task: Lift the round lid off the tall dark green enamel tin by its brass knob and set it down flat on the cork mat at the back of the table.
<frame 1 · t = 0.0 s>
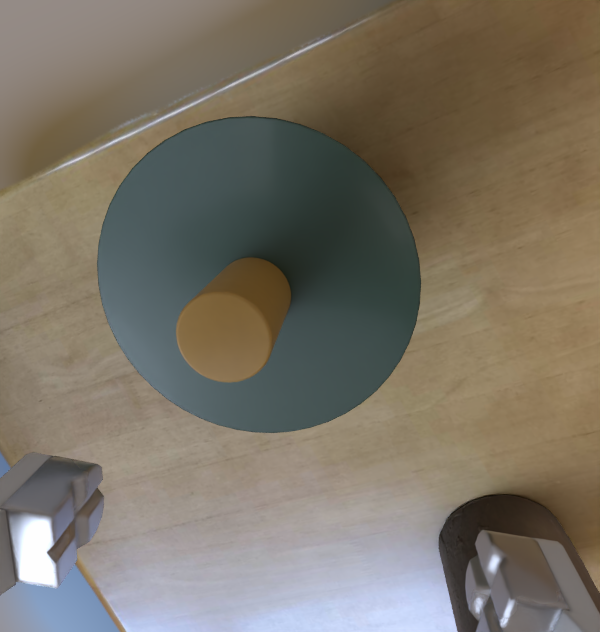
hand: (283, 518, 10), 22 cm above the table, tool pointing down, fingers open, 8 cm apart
pillar candle: (500, 540, 37), on the table
tin lid: (257, 289, 16), point 14 cm above the table, touching tin
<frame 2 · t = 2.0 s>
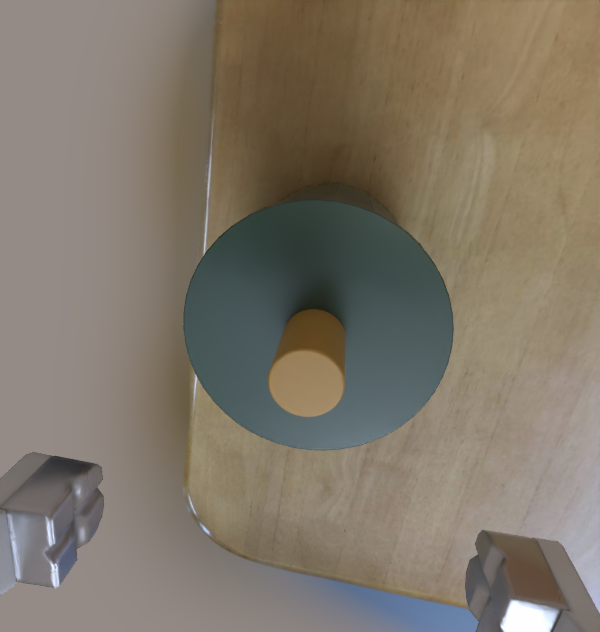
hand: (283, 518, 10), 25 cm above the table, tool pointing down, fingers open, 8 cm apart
tin lid: (315, 332, 20), point 14 cm above the table, touching tin
tin: (329, 256, 33), on the table
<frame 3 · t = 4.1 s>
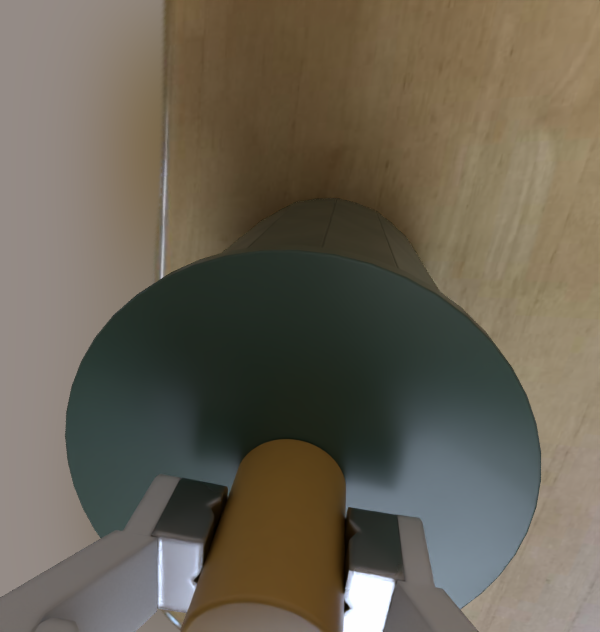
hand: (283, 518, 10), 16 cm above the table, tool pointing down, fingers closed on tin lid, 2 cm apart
tin lid: (294, 467, 11), point 15 cm above the table, touching gripper, tin
tin: (325, 294, 25), on the table
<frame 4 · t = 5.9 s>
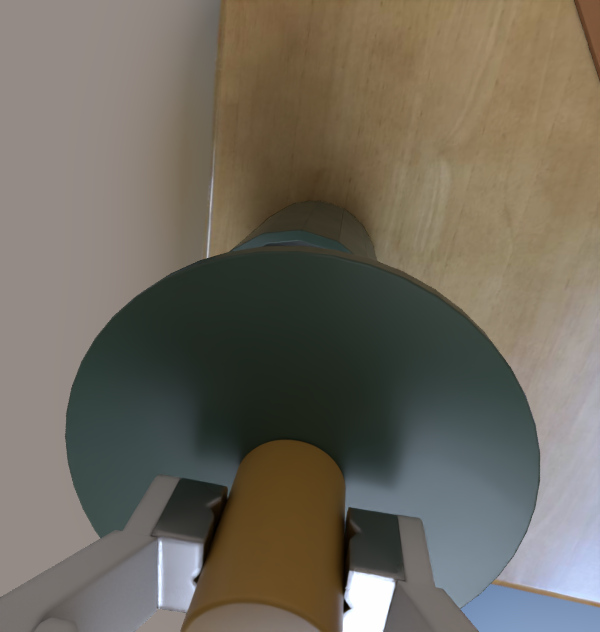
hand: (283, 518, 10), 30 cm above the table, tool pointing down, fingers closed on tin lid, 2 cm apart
tin lid: (293, 467, 11), point 29 cm above the table, touching gripper
tin: (313, 262, 39), on the table
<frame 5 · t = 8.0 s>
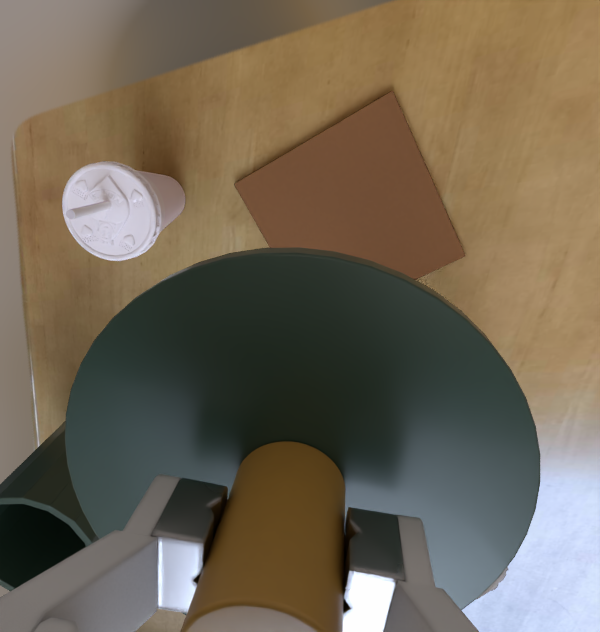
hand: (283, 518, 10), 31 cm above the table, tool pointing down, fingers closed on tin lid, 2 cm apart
smoothie: (164, 197, 39), on the table
cork mat: (350, 219, 38), on the table
tin lid: (293, 469, 11), point 29 cm above the table, touching gripper
tin: (120, 437, 48), on the table
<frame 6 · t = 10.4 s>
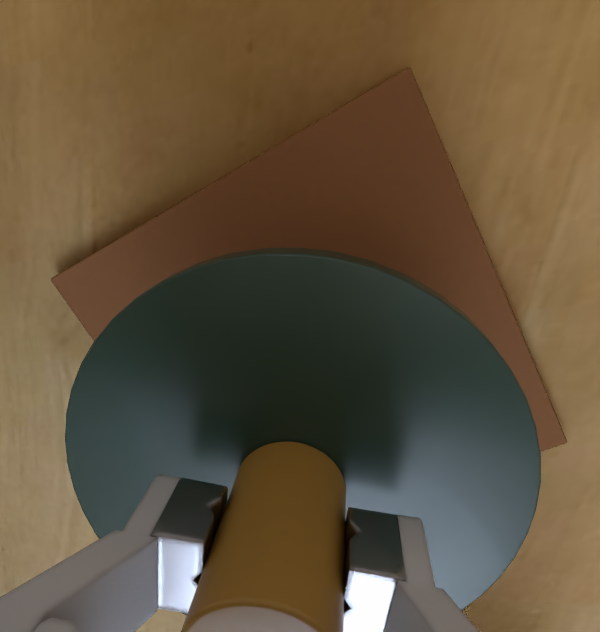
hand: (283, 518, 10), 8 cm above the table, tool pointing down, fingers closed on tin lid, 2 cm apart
cork mat: (310, 355, 17), on the table
tin lid: (293, 469, 11), point 6 cm above the table, touching gripper
when the fingers open (3 cm above the table, at t = 12.1 s): tin lid stays where it is, resting on cork mat.
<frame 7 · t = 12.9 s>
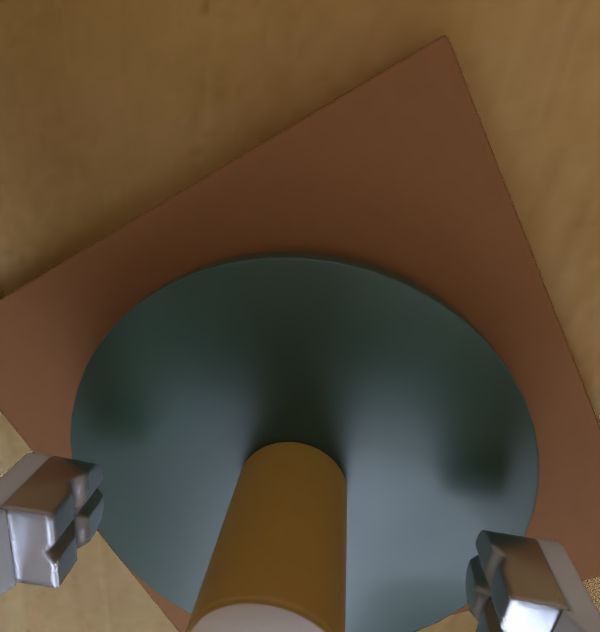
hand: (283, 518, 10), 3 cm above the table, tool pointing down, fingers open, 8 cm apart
cork mat: (298, 438, 13), on the table
tin lid: (295, 469, 12), point 1 cm above the table, touching cork mat
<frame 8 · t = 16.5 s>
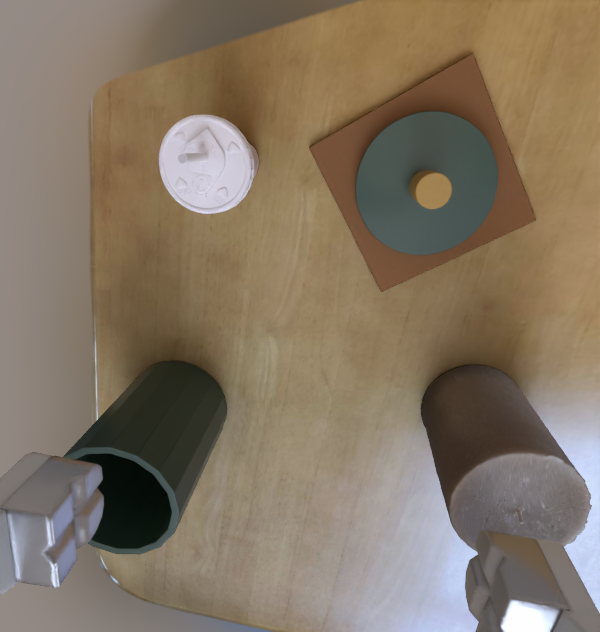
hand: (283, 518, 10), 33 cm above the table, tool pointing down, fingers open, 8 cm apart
smoothie: (238, 161, 40), on the table
pillar candle: (471, 406, 45), on the table
cork mat: (421, 183, 38), on the table
tin lid: (424, 186, 37), point 1 cm above the table, touching cork mat
tin: (179, 404, 48), on the table
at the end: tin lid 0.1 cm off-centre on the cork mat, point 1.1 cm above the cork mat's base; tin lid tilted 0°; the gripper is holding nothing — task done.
